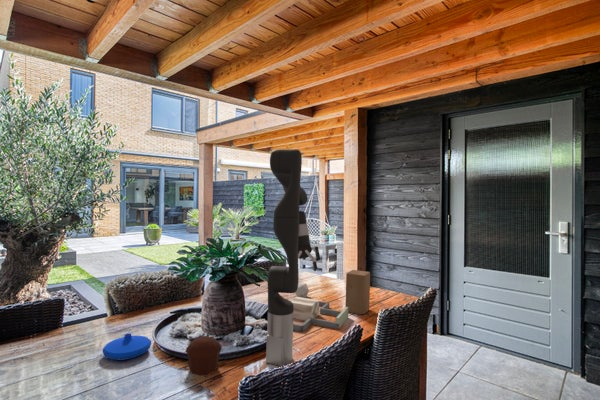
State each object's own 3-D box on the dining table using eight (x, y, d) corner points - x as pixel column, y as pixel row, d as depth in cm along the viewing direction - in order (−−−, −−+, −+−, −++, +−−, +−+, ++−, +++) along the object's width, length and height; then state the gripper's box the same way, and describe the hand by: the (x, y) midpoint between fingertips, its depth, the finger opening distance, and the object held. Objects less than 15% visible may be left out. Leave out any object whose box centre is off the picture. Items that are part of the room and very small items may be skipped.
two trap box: (331, 337, 139) (331, 325, 139) (275, 326, 149) (275, 315, 149) (353, 311, 172) (353, 301, 172) (306, 303, 183) (306, 294, 183)
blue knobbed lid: (139, 340, 132) (139, 323, 131) (159, 353, 122) (159, 334, 121) (95, 354, 119) (95, 335, 119) (113, 370, 109) (113, 348, 109)
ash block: (311, 321, 156) (311, 306, 156) (288, 317, 161) (288, 302, 161) (318, 315, 166) (319, 300, 166) (296, 311, 171) (297, 296, 170)
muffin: (225, 361, 117) (226, 332, 117) (216, 378, 106) (216, 346, 106) (192, 359, 118) (192, 331, 118) (179, 376, 107) (180, 345, 106)
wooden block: (344, 311, 171) (346, 273, 171) (351, 306, 180) (352, 269, 180) (363, 315, 166) (365, 275, 166) (369, 309, 175) (370, 271, 175)
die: (303, 301, 188) (312, 286, 191) (291, 293, 190) (300, 278, 193) (303, 302, 196) (311, 288, 199) (291, 294, 197) (299, 280, 200)
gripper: (285, 237, 141) (290, 275, 139) (318, 232, 144) (323, 270, 142) (283, 237, 148) (288, 274, 146) (314, 233, 151) (319, 269, 149)
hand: (305, 272), depth 144 cm, fingers open, 8 cm apart
